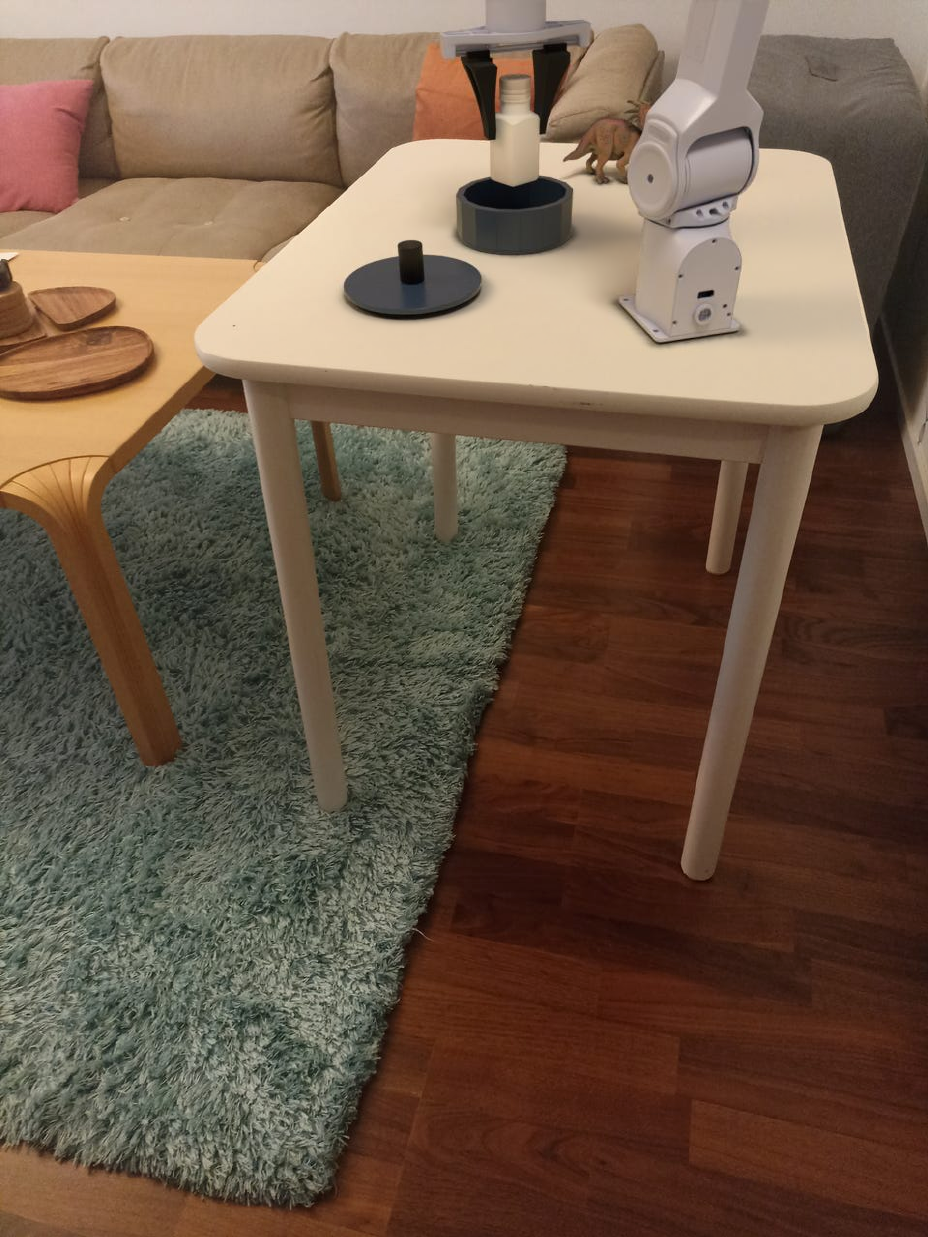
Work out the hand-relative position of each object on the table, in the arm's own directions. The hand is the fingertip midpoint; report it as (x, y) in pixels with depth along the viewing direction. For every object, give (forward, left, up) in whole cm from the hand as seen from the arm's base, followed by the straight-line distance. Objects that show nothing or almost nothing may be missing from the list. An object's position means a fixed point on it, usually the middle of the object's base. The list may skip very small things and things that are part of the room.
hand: (515, 134), depth 88 cm
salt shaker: (0, 0, -5) cm, 5 cm away
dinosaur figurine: (+16, -18, -10) cm, 27 cm away
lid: (-11, +14, -10) cm, 20 cm away
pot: (+1, 0, -10) cm, 10 cm away
